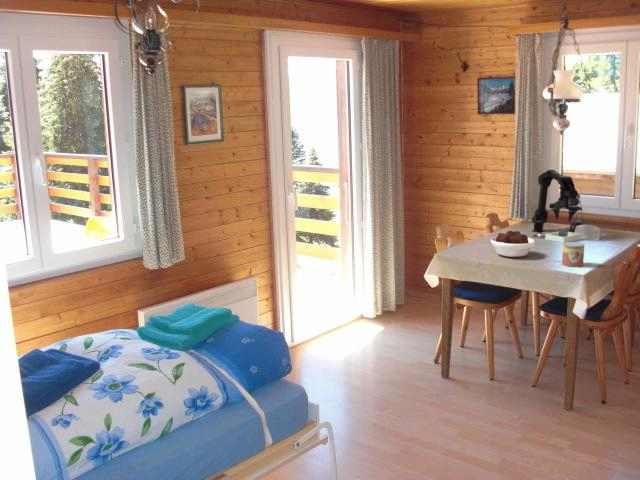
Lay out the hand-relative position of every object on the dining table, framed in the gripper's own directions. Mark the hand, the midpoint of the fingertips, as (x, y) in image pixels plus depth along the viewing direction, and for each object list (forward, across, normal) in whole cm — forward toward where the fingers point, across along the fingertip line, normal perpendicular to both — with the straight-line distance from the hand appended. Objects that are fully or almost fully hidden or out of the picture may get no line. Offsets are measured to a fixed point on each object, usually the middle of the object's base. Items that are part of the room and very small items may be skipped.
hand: (563, 220), depth 467 cm
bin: (+13, +1, 0) cm, 13 cm away
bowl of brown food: (+13, +8, -61) cm, 63 cm away
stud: (+13, -15, -2) cm, 20 cm away
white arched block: (+13, +7, +18) cm, 23 cm away
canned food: (+13, +45, -54) cm, 71 cm away
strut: (+12, +1, 0) cm, 12 cm away
